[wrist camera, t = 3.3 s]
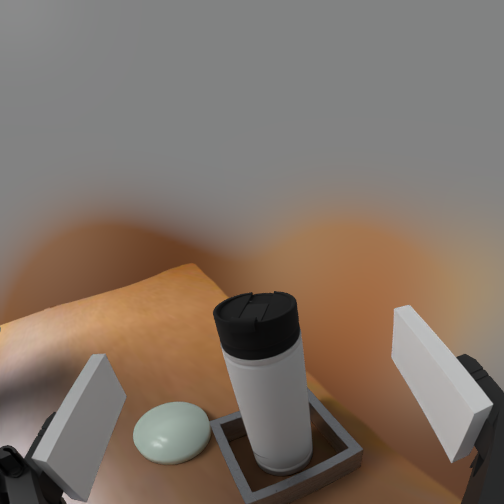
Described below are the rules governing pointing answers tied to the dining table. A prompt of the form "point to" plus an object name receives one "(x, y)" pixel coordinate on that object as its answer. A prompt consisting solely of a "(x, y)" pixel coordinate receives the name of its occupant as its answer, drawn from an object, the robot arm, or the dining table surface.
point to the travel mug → (268, 377)
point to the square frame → (280, 494)
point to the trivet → (172, 433)
